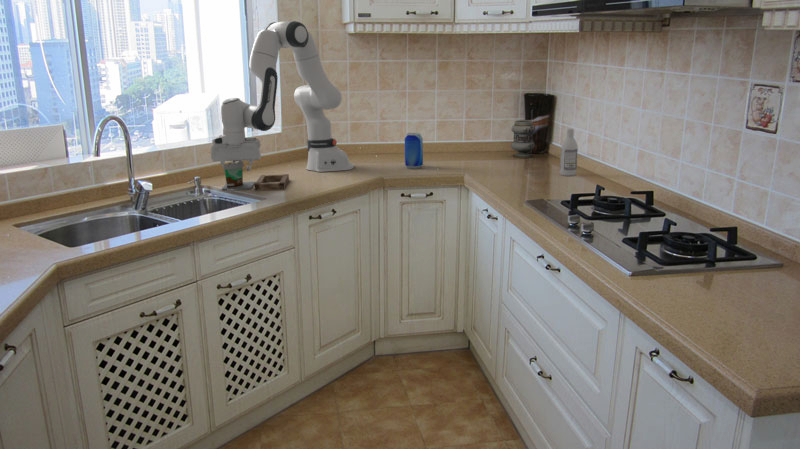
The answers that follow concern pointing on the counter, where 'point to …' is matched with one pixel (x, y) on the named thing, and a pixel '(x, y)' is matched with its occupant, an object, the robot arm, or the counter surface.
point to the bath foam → (568, 155)
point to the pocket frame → (282, 184)
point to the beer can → (413, 150)
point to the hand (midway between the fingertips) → (237, 171)
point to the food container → (234, 174)
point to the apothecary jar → (523, 138)
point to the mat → (245, 186)
